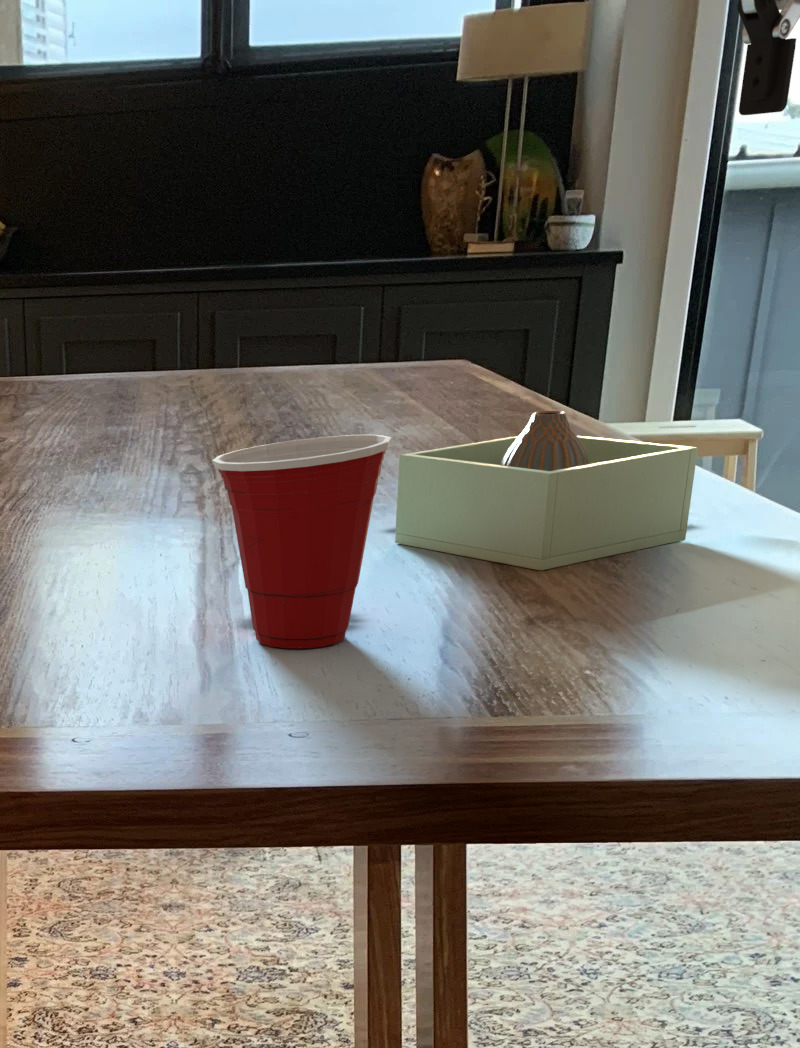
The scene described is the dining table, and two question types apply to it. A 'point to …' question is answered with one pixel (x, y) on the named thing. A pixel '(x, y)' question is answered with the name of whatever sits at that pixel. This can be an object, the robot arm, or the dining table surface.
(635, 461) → the tub
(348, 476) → the plastic cup
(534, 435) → the vase
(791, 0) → the robot arm
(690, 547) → the dining table surface
